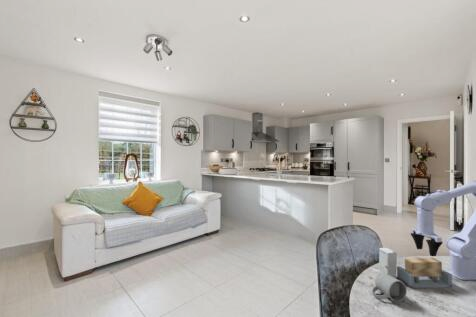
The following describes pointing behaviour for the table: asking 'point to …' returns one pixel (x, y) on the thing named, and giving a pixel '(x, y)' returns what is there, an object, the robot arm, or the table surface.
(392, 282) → the ceramic mug
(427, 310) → the table surface
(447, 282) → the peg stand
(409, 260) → the oak plank
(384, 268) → the skincare box
